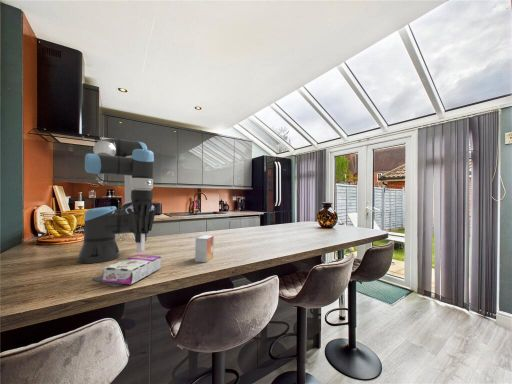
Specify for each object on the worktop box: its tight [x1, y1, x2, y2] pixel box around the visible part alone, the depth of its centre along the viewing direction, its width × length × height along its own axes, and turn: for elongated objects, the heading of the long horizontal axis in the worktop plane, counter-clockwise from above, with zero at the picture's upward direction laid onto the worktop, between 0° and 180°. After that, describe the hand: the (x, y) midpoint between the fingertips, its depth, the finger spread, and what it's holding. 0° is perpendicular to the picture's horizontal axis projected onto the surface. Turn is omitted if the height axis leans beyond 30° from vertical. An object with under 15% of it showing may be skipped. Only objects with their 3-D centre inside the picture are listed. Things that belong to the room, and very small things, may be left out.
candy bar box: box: [102, 254, 162, 285], centre depth 78 cm, size 11×5×16 cm
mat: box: [92, 272, 154, 288], centre depth 78 cm, size 13×14×1 cm
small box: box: [194, 234, 215, 263], centre depth 100 cm, size 8×6×10 cm
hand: (140, 250), depth 83 cm, fingers closed
